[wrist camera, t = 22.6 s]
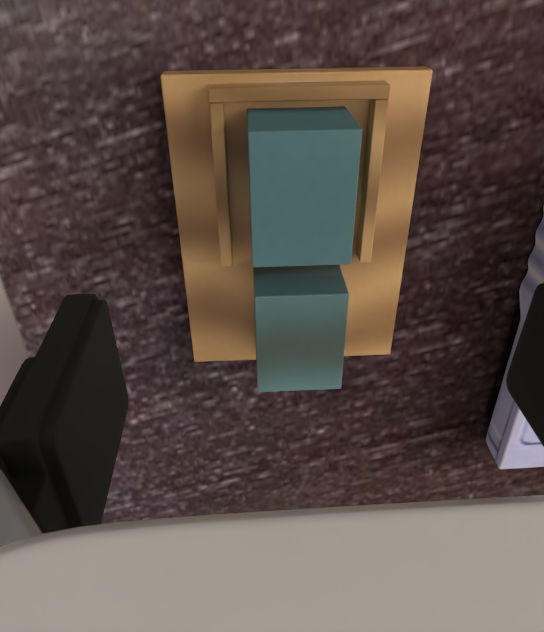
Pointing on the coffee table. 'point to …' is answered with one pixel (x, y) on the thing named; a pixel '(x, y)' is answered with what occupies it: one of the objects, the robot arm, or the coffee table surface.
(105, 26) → the coffee table surface
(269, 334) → the frame
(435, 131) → the coffee table surface
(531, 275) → the gaming console
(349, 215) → the teal rectangular block
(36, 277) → the coffee table surface
